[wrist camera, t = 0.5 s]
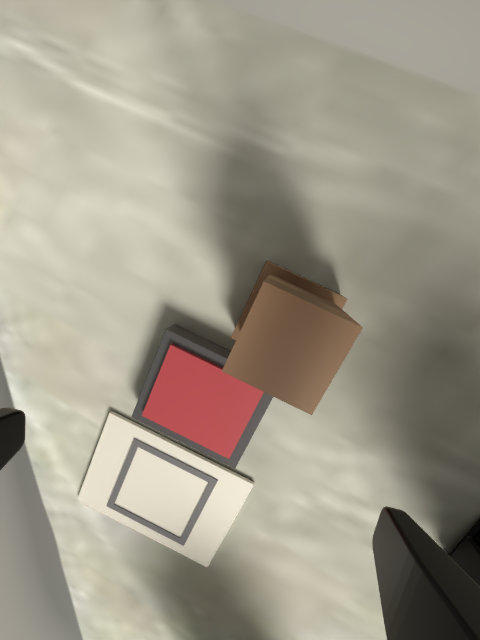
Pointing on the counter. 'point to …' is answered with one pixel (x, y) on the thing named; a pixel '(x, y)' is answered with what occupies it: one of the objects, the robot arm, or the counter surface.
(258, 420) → the ink pad
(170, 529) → the paper sheet
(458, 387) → the counter surface
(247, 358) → the stamp
